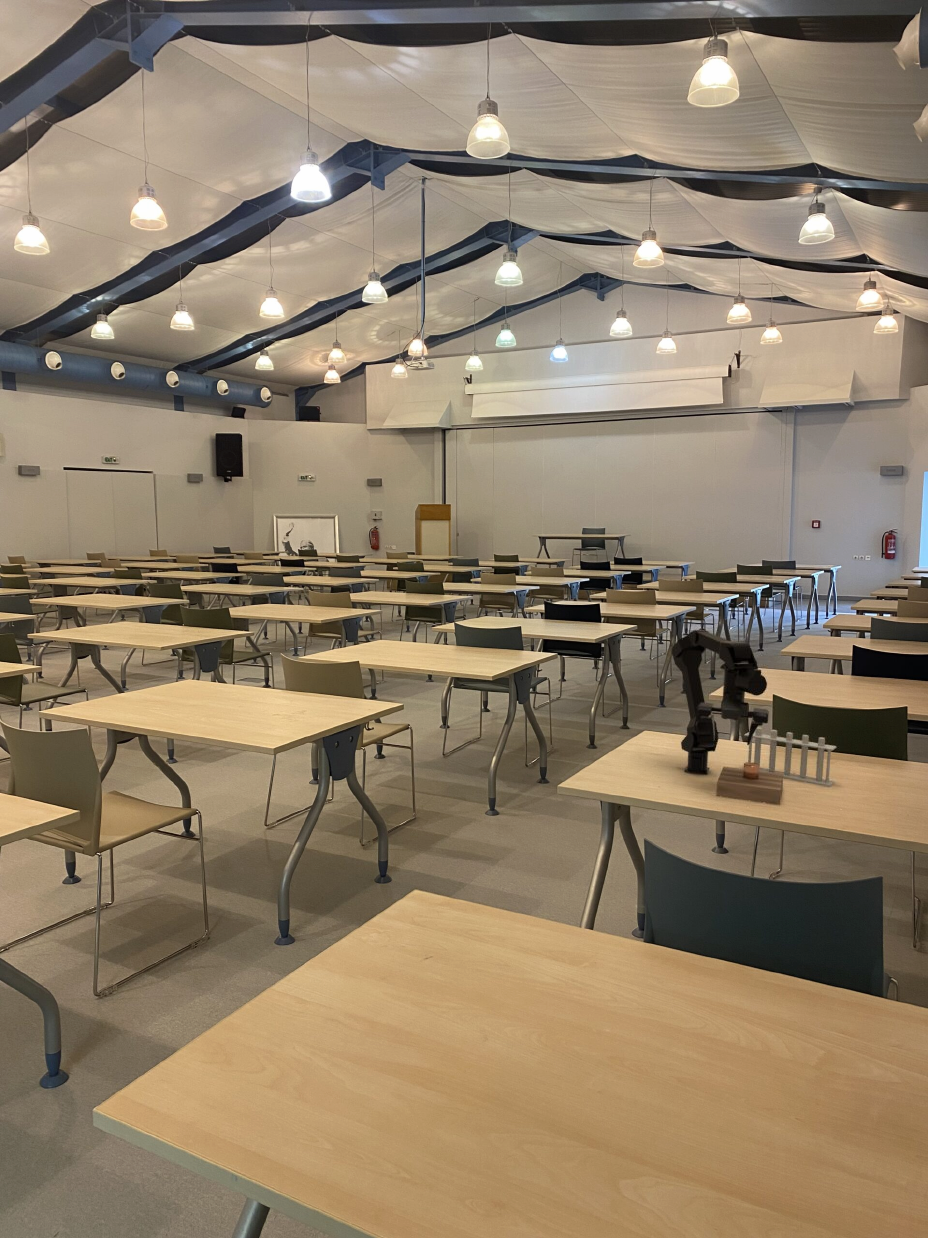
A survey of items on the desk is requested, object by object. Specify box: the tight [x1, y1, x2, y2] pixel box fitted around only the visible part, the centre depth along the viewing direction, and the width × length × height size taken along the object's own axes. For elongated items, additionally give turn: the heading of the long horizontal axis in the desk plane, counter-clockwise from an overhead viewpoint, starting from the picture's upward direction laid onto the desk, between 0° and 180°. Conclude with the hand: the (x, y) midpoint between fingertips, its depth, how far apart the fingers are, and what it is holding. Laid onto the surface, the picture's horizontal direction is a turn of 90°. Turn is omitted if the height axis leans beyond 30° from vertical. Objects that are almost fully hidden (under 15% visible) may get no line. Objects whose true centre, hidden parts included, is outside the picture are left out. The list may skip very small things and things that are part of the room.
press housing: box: [716, 766, 784, 806], centre depth 227 cm, size 16×16×4 cm
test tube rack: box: [741, 726, 837, 788], centre depth 242 cm, size 25×4×13 cm, turn 53°
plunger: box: [743, 761, 759, 779], centre depth 227 cm, size 4×4×8 cm
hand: (730, 743), depth 230 cm, fingers open, 9 cm apart
